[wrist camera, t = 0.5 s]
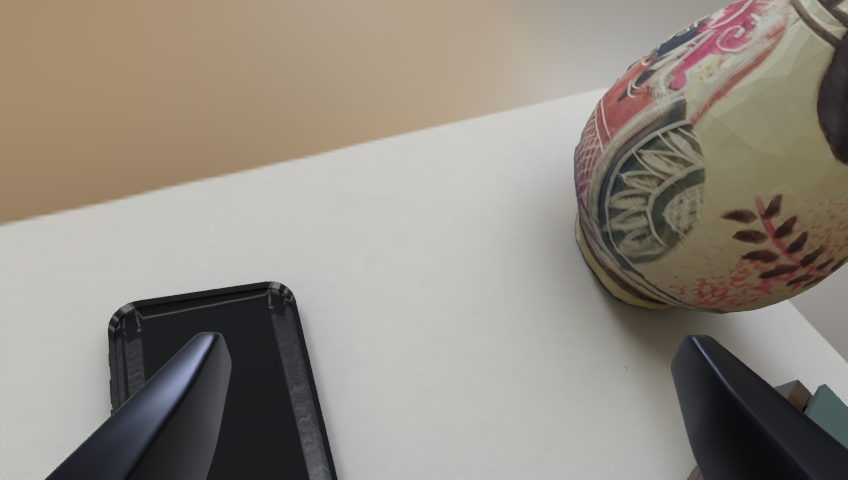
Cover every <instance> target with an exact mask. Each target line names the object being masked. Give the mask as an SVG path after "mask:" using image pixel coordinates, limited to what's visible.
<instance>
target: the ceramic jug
mask: <svg viewBox="0 0 848 480" xmlns="http://www.w3.org/2000/svg"><path fill="white" fill-rule="evenodd" d="M574 180H575V188H576V196H577V202H578V213H577V218H576V226H575V234H576V240H577V242H578V244H579V247H580V249H581V251H582V253H583V255H584V258H585V260H586V262H587V263H588V264H589V266H590V267H591V268H592V270H593V271H594V272H595V274H596V275H597V277H598V278H599V279H600V281H601V282H602V283H603V284H604V286H605V287H606V288H607V289H608V290H609V291H610V292H611V294H612V295H613V296H614V297H616V298H618V299H620V300H621V301H623V302H625V303H627V304H632V305H637V306H642V307H646V308H650V309H654V310H666V309H668V308H671V307H673V306H678V307H681V308H684V309H688V310H694V311H702V312H710V313H719V314H723V313H729V312H740V311H751V310H756V309H760V308H763V307H766V306H769V305H773V304H776V303H779V302H781V301H784V300H786V299H789V298H791V297H794V296H796V295H798V294H800V293H802V292H804V291H806V290H808V289H810V288H812V287H814V286H815V285H817V284H818V283H820V282H821V281H822V280H824V279H825V278H826V277H828V276H829V275H830V274H832V273H833V272H835V271H836V270H837V269H839V268H840V267H841V266H843V265H844V264H845V263H846V262H848V0H739V1H737V2H735V3H733V4H731V5H729V6H726V7H724V8H721V9H719V10H717V11H715V12H713V13H711V14H710V15H708V16H706V17H703V18H701V19H699V20H698V21H696V22H694V23H692V24H691V25H689V26H687V27H685V28H684V29H682V30H680V31H679V32H677V33H676V34H674V35H673V36H672V37H670V38H669V39H667V40H666V41H665V42H663V43H662V44H661V45H659V46H658V47H656V48H655V49H654V50H652V51H651V52H650V53H649V54H647V55H645V56H643V57H642V58H641V59H640V60H638V61H637V62H635V63H634V64H632V65H631V66H630V67H629V68H628V70H627V71H626V72H625V74H624V75H623V76H622V77H620V78H618V79H617V81H616V82H615V84H614V85H613V86H612V87H611V88H610V89H609V90H608V92H607V93H606V94H605V95H604V96H603V97H602V98H601V99H600V101H599V102H598V103H597V105H596V107H595V109H594V111H593V113H592V115H591V116H590V118H589V120H588V121H587V123H586V126H585V128H584V130H583V132H582V135H581V140H580V143H579V144H578V145H577V147H576V148H575V153H574ZM624 368H625V369H626V370H627V368H626V367H624Z"/></svg>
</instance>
